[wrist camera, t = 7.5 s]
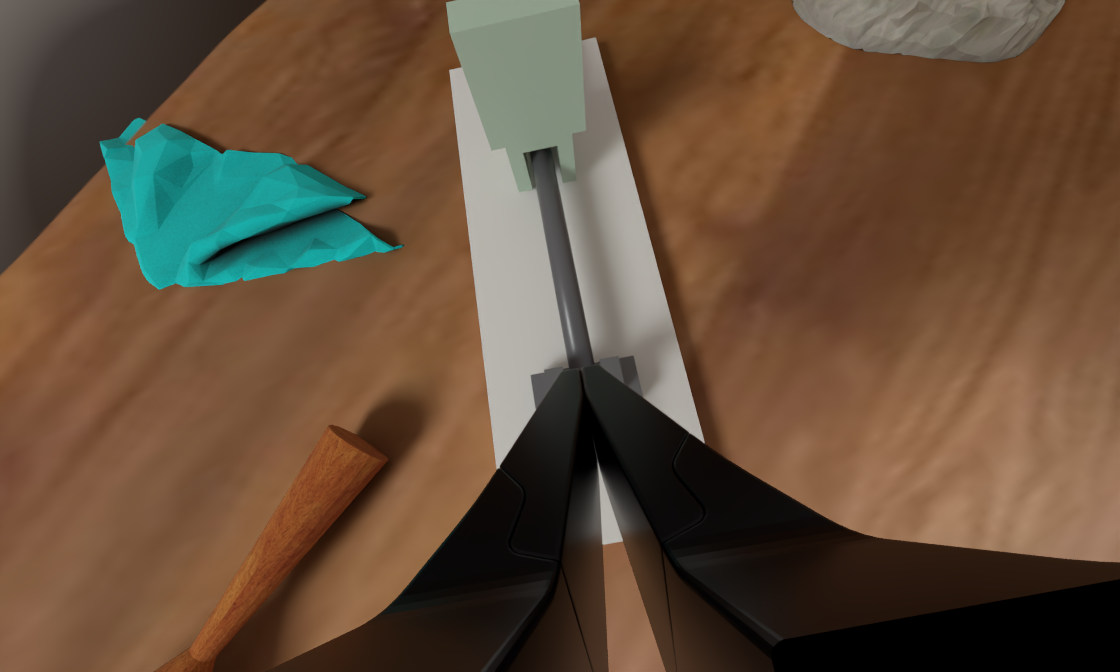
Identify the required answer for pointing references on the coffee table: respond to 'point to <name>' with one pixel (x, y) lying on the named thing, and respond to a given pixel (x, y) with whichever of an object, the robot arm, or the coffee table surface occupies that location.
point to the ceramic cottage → (933, 26)
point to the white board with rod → (566, 271)
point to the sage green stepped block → (523, 75)
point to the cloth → (226, 210)
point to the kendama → (286, 538)
